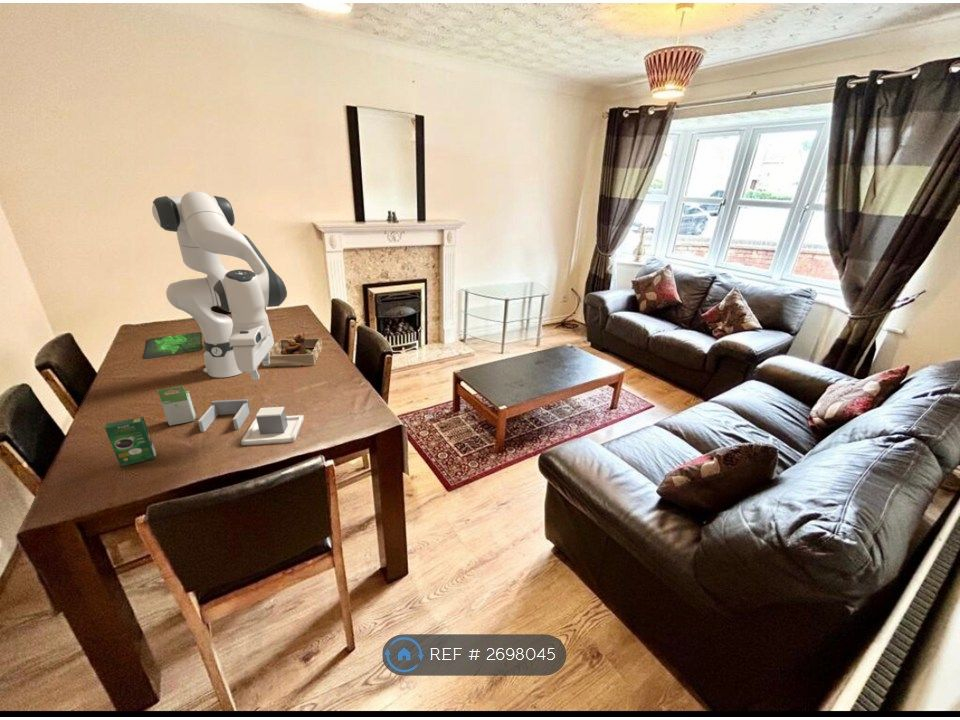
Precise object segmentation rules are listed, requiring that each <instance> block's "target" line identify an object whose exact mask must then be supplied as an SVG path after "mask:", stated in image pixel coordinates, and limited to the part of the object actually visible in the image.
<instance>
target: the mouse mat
mask: <svg viewBox="0 0 960 720" xmlns="http://www.w3.org/2000/svg"><path fill="white" fill-rule="evenodd" d="M202 338H203V335H202V331H198V332H189V333H181V334H175V335H173V334H172V335H166V336H160V337H153V338H148V339H146V343H145V348H144V351H143V355H142V359H143V360H152V359H156V358H164V357H170V356H176V355H182V354H189V353H190V354H191V353H196V352H200V351H202V350H203V339H202Z"/></svg>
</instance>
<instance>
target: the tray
mask: <svg viewBox="0 0 960 720" xmlns="http://www.w3.org/2000/svg"><path fill="white" fill-rule="evenodd" d="M286 418H287V423H288V426H287V428H286V430H285V432H284V433H278V434H263V435H260V431H259V427H258V423H257V418H256V417H255V419H254V420H253V422H252V423H251V424H250V427H249V428H248V429H247V431H246V432H245V435H244V436H243V437H242V439H241V441H240V443H241V446H255V445H268V444H269V445H270V444H282V443H285V444H286V443H294V442H296V440H297V437H298V435H299V433H300V430H301V428H302V425H303V422H304V419H305V415H304V414H301V415H297V414H296V415H286Z"/></svg>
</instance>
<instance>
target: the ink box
mask: <svg viewBox="0 0 960 720" xmlns="http://www.w3.org/2000/svg"><path fill="white" fill-rule="evenodd" d="M170 391H177V392H172V393H167V392H170ZM156 392H157V393H158V396H159V399H160V403H161V407H162V408H163V411H164V412H163V413H164V415H165V417H166V418H165V419H166V421H167V424H168V425H169V427H171V426H175V425H180V424H185V423H186V424H187V423H191V422H195V421H196V417H197V414H196V410H195V408H194V407H195V406H194V404H193V401H192V397H191V394H190V391H189V390H186V389H185V387H184V385H179V386H174V387H168V388H163V389H162V388H161V389H157V391H156Z"/></svg>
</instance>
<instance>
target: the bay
mask: <svg viewBox="0 0 960 720" xmlns="http://www.w3.org/2000/svg"><path fill="white" fill-rule="evenodd" d="M210 403H211V405H210V407H209V408H208V409H207V410H206V412H205V413H203V415H202V416H201V417H200V418H199V419H198V420H197V423H198V427H199V430H200V433H204V432H206V431H207V430H208V429H209V427H210V425H212V423H213V422H214V421H215V419H216V418H217V416H219V415H221V416H223V415H234V417H233V418H232V421H233V425H234V430H237V431H238V430H240V429H241V428H242V426H243V424H244V423H245V421H246V420H247V418H248V417H249V415H250V413H251V407H250V403H249V399H248V398H244V399H241V398H240V399H224V400H223V399H221V400H212V401H211V402H210Z"/></svg>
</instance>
